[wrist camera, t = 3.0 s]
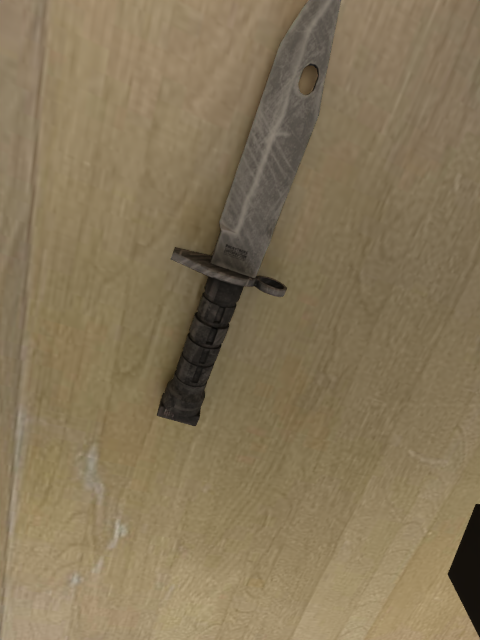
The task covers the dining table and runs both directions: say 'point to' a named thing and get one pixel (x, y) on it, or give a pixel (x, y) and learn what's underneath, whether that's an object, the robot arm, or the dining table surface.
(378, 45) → the dining table surface
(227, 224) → the knife
